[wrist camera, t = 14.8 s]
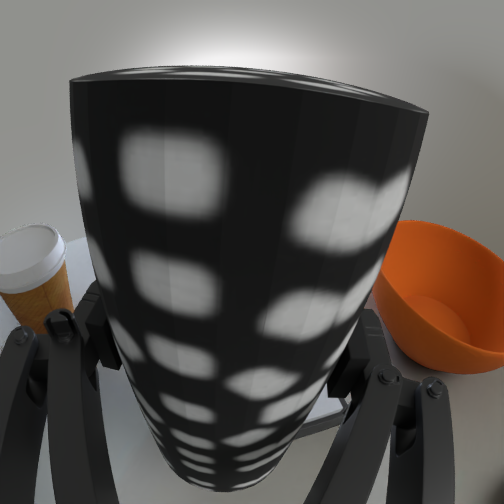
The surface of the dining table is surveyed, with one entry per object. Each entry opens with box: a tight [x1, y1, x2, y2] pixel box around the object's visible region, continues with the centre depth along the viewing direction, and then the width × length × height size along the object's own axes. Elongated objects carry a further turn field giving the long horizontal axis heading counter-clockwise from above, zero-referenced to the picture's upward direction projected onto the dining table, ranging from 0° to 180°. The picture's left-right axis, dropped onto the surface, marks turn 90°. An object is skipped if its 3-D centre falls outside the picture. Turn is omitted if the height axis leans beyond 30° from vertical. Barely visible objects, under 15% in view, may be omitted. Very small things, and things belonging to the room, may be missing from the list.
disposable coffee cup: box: [0, 223, 74, 334], centre depth 27 cm, size 10×10×12 cm
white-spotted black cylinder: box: [69, 66, 429, 492], centre depth 12 cm, size 8×8×20 cm
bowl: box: [372, 220, 504, 374], centre depth 34 cm, size 25×25×10 cm
